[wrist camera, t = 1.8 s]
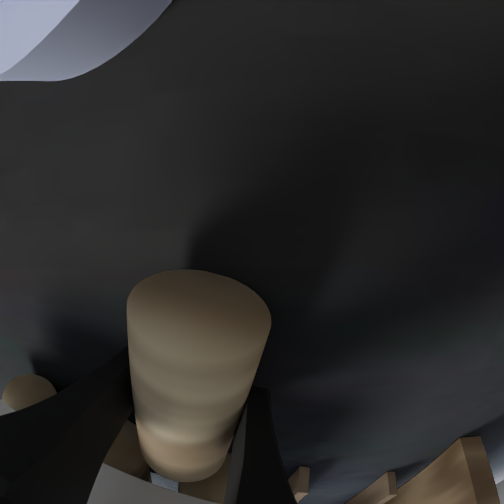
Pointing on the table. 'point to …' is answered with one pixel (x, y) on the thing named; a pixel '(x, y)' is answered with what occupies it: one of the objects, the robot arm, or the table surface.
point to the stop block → (453, 478)
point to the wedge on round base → (68, 35)
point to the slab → (127, 486)
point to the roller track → (211, 489)
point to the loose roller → (192, 367)
